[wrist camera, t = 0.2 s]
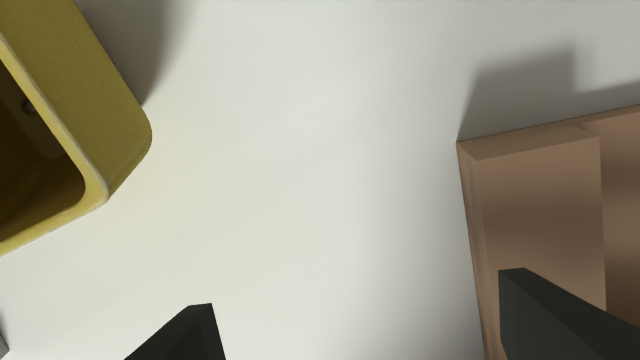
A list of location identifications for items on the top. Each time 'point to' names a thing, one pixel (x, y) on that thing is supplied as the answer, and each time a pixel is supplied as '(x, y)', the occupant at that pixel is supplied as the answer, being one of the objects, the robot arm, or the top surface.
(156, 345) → the robot arm
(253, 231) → the top surface
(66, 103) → the flower pot
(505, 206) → the board
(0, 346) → the grey dispenser tower
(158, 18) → the top surface
